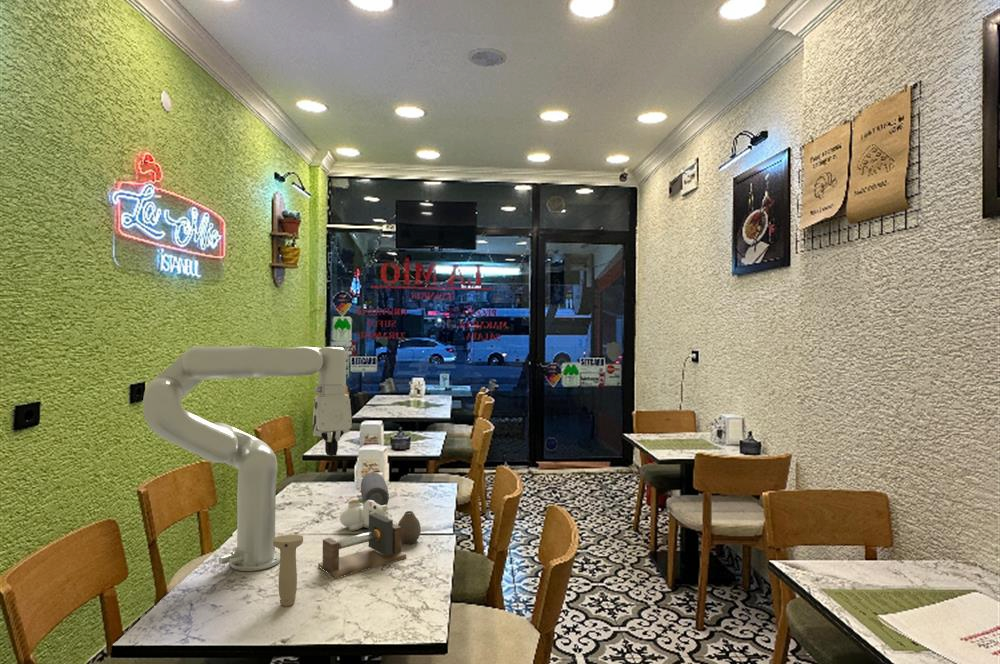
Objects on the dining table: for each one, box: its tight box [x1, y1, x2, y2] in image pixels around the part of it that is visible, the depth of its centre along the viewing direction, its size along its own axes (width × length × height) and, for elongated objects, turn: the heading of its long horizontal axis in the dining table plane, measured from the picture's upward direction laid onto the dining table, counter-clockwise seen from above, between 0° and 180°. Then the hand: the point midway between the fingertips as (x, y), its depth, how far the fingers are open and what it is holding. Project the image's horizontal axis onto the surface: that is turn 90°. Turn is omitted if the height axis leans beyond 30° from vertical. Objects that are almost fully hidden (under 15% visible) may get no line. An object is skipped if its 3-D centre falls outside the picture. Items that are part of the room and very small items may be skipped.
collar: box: [368, 513, 394, 555], centre depth 167 cm, size 2×9×9 cm, turn 43°
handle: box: [273, 534, 304, 608], centre depth 138 cm, size 5×6×15 cm
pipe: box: [334, 529, 381, 550], centre depth 163 cm, size 18×3×3 cm, turn 133°
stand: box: [317, 523, 407, 579], centre depth 163 cm, size 21×10×8 cm, turn 133°
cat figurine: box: [339, 498, 389, 532], centre depth 192 cm, size 10×8×15 cm
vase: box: [397, 510, 421, 545], centre depth 180 cm, size 7×7×9 cm
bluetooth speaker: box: [360, 471, 390, 506], centre depth 216 cm, size 23×9×10 cm, turn 15°
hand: (331, 455), depth 172 cm, fingers closed
